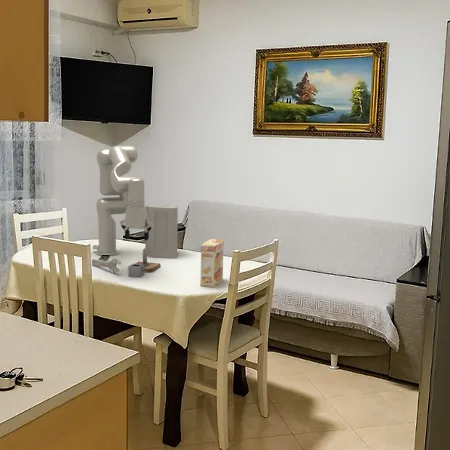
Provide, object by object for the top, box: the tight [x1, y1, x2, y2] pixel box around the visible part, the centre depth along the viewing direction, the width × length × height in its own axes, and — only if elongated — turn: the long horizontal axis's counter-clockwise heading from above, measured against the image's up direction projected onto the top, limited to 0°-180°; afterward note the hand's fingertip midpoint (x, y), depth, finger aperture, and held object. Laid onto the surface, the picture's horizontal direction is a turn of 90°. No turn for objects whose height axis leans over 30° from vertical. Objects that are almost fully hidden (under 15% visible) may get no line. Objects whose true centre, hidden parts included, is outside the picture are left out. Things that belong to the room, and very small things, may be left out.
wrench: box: [91, 257, 122, 274], centre depth 296 cm, size 8×2×30 cm
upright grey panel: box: [144, 202, 179, 260], centre depth 326 cm, size 19×15×28 cm
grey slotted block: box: [127, 263, 146, 279], centre depth 286 cm, size 6×6×5 cm
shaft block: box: [134, 247, 161, 274], centre depth 298 cm, size 12×12×10 cm
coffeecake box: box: [199, 238, 225, 288], centre depth 275 cm, size 15×7×20 cm, turn 164°
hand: (136, 239), depth 284 cm, fingers open, 9 cm apart
